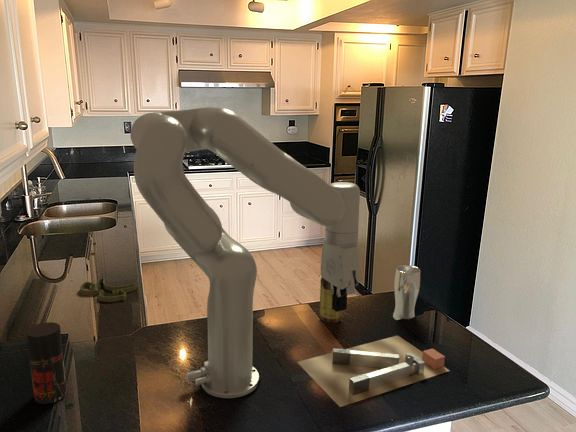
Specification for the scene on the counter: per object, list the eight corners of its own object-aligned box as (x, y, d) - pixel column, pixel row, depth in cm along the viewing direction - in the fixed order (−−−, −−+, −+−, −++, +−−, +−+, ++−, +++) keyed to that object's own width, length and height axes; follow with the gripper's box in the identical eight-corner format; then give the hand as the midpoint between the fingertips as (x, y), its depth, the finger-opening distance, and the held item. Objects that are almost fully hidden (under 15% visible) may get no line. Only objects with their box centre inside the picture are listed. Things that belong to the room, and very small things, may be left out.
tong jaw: (397, 366, 108) (398, 354, 107) (398, 369, 106) (399, 358, 105) (332, 359, 109) (333, 348, 109) (332, 363, 108) (332, 351, 107)
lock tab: (431, 357, 111) (432, 348, 111) (443, 366, 108) (445, 356, 107) (421, 360, 110) (422, 351, 110) (434, 369, 107) (435, 359, 106)
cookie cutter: (143, 290, 149) (143, 285, 149) (118, 305, 138) (118, 299, 138) (97, 282, 155) (96, 276, 154) (70, 296, 144) (69, 290, 143)
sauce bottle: (327, 312, 137) (330, 247, 132) (345, 319, 133) (349, 252, 128) (314, 320, 132) (317, 253, 127) (332, 327, 128) (336, 258, 123)
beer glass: (386, 314, 136) (390, 266, 133) (406, 311, 139) (411, 263, 135) (400, 325, 130) (405, 274, 126) (421, 321, 133) (426, 272, 129)
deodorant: (30, 395, 96) (22, 328, 92) (60, 383, 100) (53, 319, 96) (40, 408, 92) (31, 340, 88) (71, 396, 96) (64, 329, 92)
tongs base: (409, 363, 109) (411, 350, 108) (423, 374, 105) (425, 359, 104) (341, 384, 100) (342, 369, 99) (354, 396, 96) (355, 381, 95)
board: (339, 412, 93) (340, 406, 93) (296, 366, 109) (296, 362, 108) (449, 375, 107) (449, 370, 106) (397, 339, 122) (397, 335, 122)
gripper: (311, 230, 112) (310, 300, 117) (346, 248, 99) (343, 326, 104) (337, 226, 115) (335, 294, 120) (374, 243, 102) (370, 319, 107)
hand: (339, 309), depth 112 cm, fingers closed
